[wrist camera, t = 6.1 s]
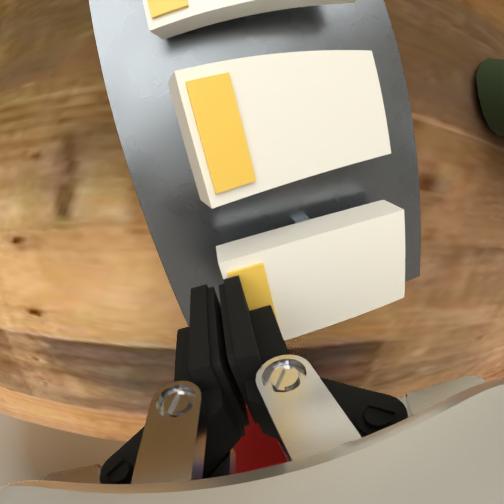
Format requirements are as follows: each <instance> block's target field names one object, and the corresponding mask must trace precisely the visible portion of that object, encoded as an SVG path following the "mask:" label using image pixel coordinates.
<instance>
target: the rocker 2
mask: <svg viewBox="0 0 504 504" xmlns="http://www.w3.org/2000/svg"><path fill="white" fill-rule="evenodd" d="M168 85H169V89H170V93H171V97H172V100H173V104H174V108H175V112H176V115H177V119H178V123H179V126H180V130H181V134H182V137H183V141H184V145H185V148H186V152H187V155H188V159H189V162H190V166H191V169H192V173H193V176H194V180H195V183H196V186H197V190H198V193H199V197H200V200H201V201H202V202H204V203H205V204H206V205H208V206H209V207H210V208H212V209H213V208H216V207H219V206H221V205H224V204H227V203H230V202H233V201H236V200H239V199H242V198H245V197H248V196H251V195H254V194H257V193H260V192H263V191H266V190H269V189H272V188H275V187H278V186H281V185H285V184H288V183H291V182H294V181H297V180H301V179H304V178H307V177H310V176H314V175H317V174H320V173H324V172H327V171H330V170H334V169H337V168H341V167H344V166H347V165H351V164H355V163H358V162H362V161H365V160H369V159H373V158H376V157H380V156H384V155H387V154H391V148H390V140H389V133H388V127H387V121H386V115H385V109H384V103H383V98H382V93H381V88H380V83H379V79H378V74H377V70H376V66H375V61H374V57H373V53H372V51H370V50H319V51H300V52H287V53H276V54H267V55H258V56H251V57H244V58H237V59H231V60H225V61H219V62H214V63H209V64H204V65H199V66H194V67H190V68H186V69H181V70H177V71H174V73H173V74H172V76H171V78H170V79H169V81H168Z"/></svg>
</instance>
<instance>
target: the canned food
mask: <svg viewBox="0 0 504 504" xmlns="http://www.w3.org/2000/svg"><path fill="white" fill-rule="evenodd" d="M246 407H247V405H246ZM247 412H248V418H249V424H250V425H249V426H245V427H244V430H245V435H246V436H243V437H241V439H240V440H239V441H238V442H237V443H236V445H235V446H234V447H235V451H236V466H235V474H237V473H243V472H248V471H253V470H257V469H262V468H266V467H270V466H275V465H279V464H282V463H286V462H288V461H287V459H286V457H285V455H284V453H283V451H282V449H281V446H280V444H279V442H278V440H277V439H275V438H273V437H270V436H268V435H266V434H264V433H263V432H262V430H261V428H260V426H259V424H258V423H257V424H255V422H254V420H253V418H252V416H251V414H250V411H249V409H248V407H247Z"/></svg>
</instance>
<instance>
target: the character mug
mask: <svg viewBox="0 0 504 504" xmlns="http://www.w3.org/2000/svg"><path fill="white" fill-rule="evenodd" d="M476 80H477V88H478V95H479V99H480V104H481V108H482V113H483V115H484V117H485V119H486V121H487V124H488V126H489V128H490V129H491V130H492V131H493V132H494V133H495V134H496V135H499V136H504V60H502V59H489V58H488V59H487V60H485V61H484V62H482V63H481V64H480V66H479V69H478V72H477V75H476Z"/></svg>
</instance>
